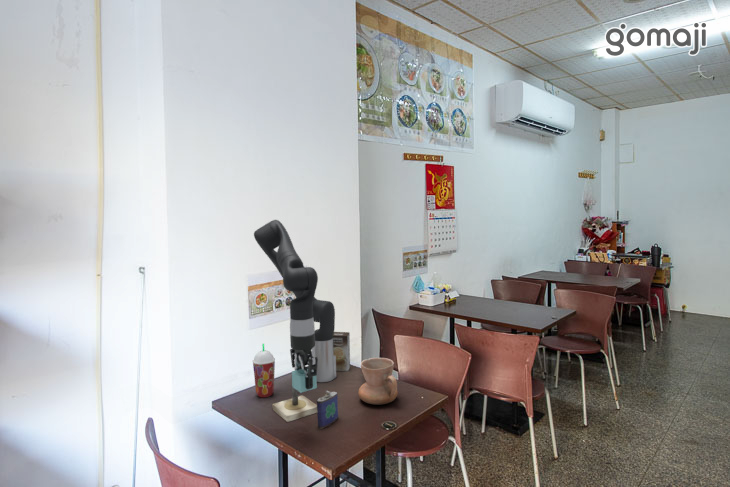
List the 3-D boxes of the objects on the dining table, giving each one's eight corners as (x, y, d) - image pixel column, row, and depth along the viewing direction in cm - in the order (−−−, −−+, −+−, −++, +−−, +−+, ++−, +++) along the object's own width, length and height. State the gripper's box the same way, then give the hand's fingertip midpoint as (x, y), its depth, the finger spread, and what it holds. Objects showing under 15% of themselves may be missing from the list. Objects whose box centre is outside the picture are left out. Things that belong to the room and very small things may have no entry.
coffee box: (327, 371, 187) (326, 335, 187) (331, 365, 194) (330, 331, 193) (348, 371, 186) (347, 335, 185) (350, 366, 193) (349, 331, 192)
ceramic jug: (348, 398, 158) (347, 361, 158) (378, 388, 167) (377, 352, 166) (379, 415, 144) (378, 374, 143) (410, 403, 153) (409, 364, 152)
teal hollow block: (308, 382, 135) (307, 367, 135) (316, 387, 131) (316, 372, 131) (292, 387, 132) (291, 371, 132) (300, 392, 128) (300, 376, 127)
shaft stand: (302, 400, 158) (302, 376, 157) (318, 411, 148) (318, 386, 147) (272, 409, 151) (271, 384, 150) (287, 422, 141) (286, 395, 140)
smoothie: (278, 390, 167) (277, 340, 166) (272, 399, 159) (270, 347, 158) (258, 390, 168) (256, 340, 167) (250, 398, 160) (248, 347, 159)
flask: (334, 416, 144) (333, 385, 144) (340, 418, 143) (340, 387, 142) (315, 427, 137) (314, 395, 136) (322, 429, 135) (321, 397, 135)
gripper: (324, 334, 127) (326, 389, 128) (302, 325, 138) (304, 375, 140) (302, 339, 122) (304, 396, 124) (281, 329, 134) (283, 381, 135)
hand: (304, 385), depth 132 cm, fingers closed on teal hollow block, 5 cm apart
